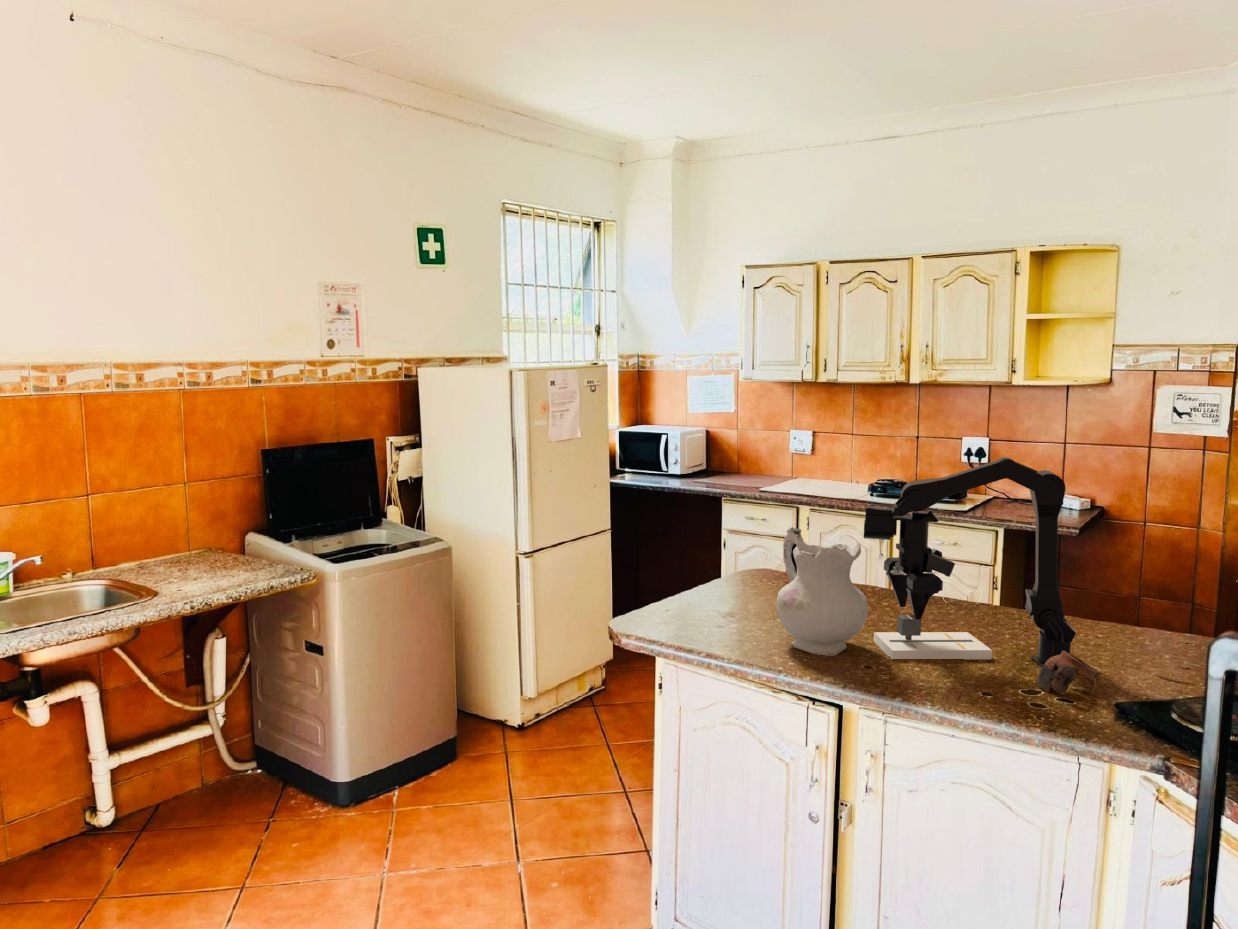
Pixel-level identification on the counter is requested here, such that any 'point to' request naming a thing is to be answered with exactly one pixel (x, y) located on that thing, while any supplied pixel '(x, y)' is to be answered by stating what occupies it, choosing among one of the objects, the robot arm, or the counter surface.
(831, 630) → the ceramic pitcher
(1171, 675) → the counter surface
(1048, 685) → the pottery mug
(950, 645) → the fader panel
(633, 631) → the counter surface
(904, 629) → the fader knob
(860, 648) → the counter surface
